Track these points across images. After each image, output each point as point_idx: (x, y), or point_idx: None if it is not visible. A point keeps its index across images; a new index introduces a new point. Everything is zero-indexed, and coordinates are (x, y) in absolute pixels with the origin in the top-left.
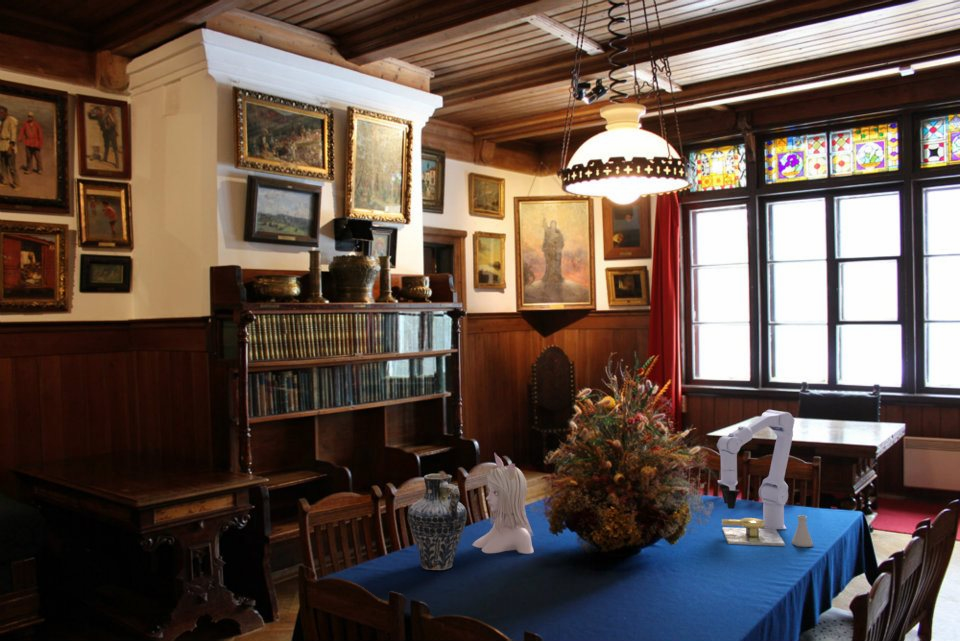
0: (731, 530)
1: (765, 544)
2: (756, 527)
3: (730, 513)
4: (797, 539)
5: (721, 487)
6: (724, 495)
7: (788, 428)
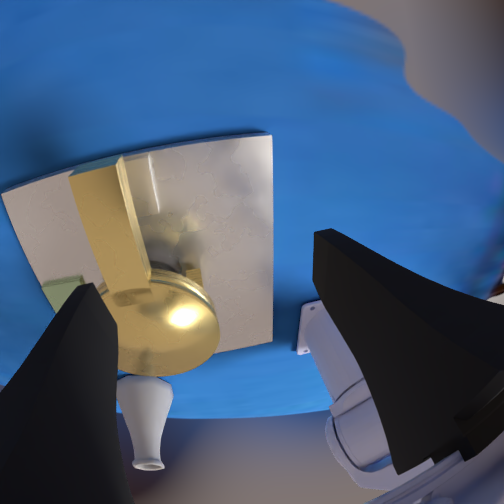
0: (208, 187)
1: None
2: None
3: (479, 189)
4: (120, 398)
5: (460, 359)
6: (367, 291)
7: None
